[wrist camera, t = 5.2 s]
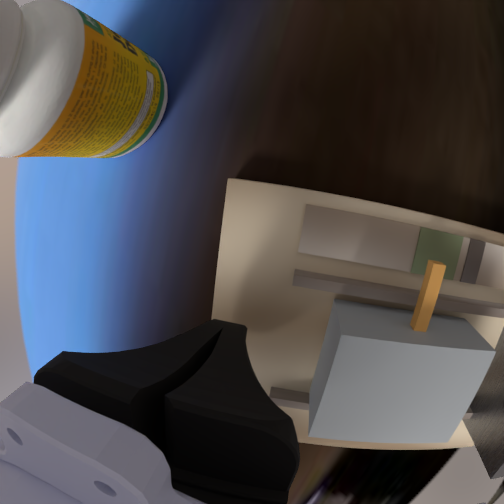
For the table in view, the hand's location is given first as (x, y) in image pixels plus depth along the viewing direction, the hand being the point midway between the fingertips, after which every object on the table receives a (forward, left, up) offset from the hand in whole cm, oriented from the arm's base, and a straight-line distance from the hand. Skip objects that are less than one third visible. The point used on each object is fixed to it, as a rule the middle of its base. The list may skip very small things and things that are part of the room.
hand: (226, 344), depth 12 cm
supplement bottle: (+9, +7, -3) cm, 12 cm away
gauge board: (0, -7, -3) cm, 7 cm away
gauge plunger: (+1, -7, -1) cm, 7 cm away
